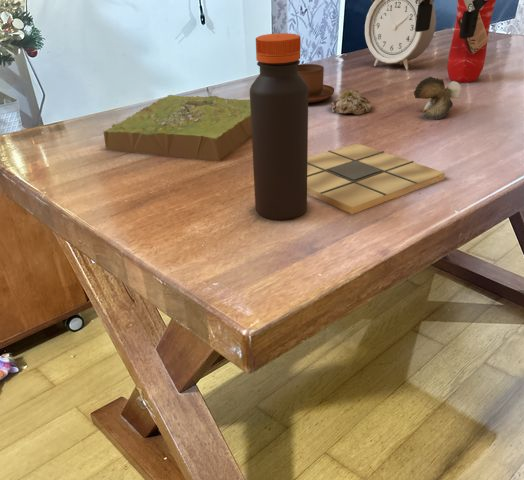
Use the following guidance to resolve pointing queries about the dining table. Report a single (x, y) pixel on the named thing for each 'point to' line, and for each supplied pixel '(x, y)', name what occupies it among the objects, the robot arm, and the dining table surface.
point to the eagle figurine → (437, 96)
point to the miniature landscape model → (184, 128)
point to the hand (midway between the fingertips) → (443, 34)
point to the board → (364, 177)
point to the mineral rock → (351, 103)
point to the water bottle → (469, 45)
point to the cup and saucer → (315, 82)
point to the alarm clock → (396, 31)
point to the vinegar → (279, 128)
